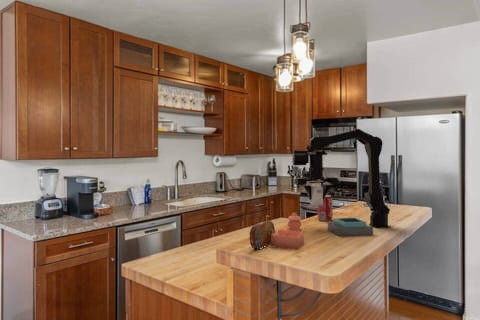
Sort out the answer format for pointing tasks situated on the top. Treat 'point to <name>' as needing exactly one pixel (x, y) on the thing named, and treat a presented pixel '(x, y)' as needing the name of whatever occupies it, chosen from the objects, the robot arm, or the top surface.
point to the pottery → (289, 234)
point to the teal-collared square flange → (350, 227)
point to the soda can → (326, 209)
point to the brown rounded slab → (261, 234)
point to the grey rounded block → (316, 196)
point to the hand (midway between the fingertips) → (316, 200)
